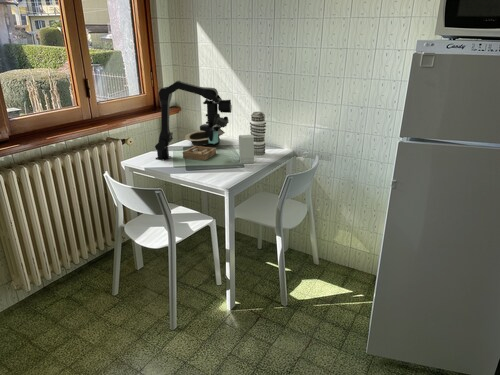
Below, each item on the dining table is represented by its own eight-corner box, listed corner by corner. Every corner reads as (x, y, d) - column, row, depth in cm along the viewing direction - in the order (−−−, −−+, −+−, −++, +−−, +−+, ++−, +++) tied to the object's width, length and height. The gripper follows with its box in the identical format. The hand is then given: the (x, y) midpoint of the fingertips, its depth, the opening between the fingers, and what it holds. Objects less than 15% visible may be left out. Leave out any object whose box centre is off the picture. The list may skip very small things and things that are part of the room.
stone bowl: (231, 142, 251) (230, 128, 247) (208, 154, 232) (207, 140, 228) (201, 137, 263) (200, 123, 259) (177, 148, 244) (175, 134, 240)
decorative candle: (263, 158, 220) (263, 114, 210) (248, 156, 222) (247, 113, 213) (267, 153, 228) (268, 111, 218) (253, 152, 230) (252, 110, 221)
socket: (203, 156, 221) (202, 151, 220) (192, 155, 224) (191, 150, 223) (207, 154, 225) (207, 149, 224) (196, 153, 228) (196, 148, 227)
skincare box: (254, 160, 216) (253, 134, 211) (254, 163, 211) (254, 137, 205) (239, 160, 216) (238, 134, 211) (239, 163, 211) (238, 137, 205)
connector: (214, 143, 212) (214, 131, 210) (208, 142, 214) (208, 130, 211) (218, 142, 216) (218, 129, 213) (212, 141, 217) (211, 129, 214)
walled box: (204, 160, 216) (203, 154, 215) (183, 157, 221) (182, 151, 220) (216, 153, 228) (215, 148, 227) (195, 151, 233) (195, 145, 232)
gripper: (217, 116, 197) (218, 146, 203) (233, 110, 213) (233, 138, 219) (198, 114, 202) (199, 143, 207) (215, 108, 217) (216, 135, 223)
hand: (213, 140), depth 214 cm, fingers closed on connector, 4 cm apart
